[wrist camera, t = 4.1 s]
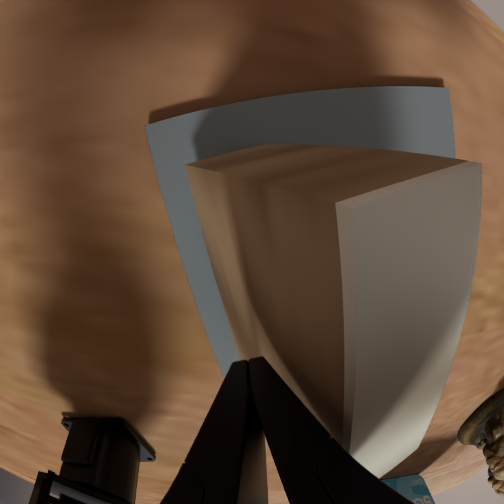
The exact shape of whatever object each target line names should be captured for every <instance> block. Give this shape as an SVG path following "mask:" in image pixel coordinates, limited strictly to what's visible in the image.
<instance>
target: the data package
mask: <svg viewBox="0 0 504 504" xmlns="http://www.w3.org/2000/svg"><path fill="white" fill-rule="evenodd" d="M382 481H383V482H384V483H386V484H387V485H389V486H390V487H391V488H393V489H394V490H396V491H397V492H398V493H400V494H401V495H403V496H404V497H406V498H407V499H409V500H410V501H412V502H413V503H415V504H435V502H434V500H433V498H432V496H431V494H430V492H429V489H428V487H427V485H426V483H425V481H424V479H423V478H422V477H421V476H420V475H418V474H414V475H409V476H403V477H397V478H391V479H384V480H382Z"/></svg>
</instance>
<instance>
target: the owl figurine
mask: <svg viewBox="0 0 504 504" xmlns="http://www.w3.org/2000/svg"><path fill="white" fill-rule="evenodd" d="M494 397H495V398H494V399H492V398H490V399H488V400H487V401H486V402H484V403H483V404H482V405H481V406H480V407H479V408H478V409H477V410H476V411H475V412H474V413H473V414H472V415H471V416H470V417H469V418H468V419H467V420H466V421H465V423H464V424H463V425H462V426H461V427H460V429H459V431H458V439H459V441H460V442H461V443H462V444H464V445H469V444H470V445H474V446H476V447H477V448H478V449H483V454H484V456H485V458H487V459H486V461H487V464H488V465H489V469H488V475H489V478H488V482H489V483H490V484H492V488H494V489H495V491H496V493H497V494H498V495H500V496H504V389H502V390H501V391H499V392H498V393H496V394H495V395H494Z"/></svg>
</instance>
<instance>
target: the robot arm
mask: <svg viewBox="0 0 504 504" xmlns="http://www.w3.org/2000/svg"><path fill="white" fill-rule="evenodd" d="M61 423H62V425H63V426H64V427H65V428H66V429H67V430H68V431H69V434H68V437H67V440H66V444H65V447H64V450H63V453H62V457H61V460H62V461H63V463H62V466H61V470H60V473H59V475H57V474H55V472H53V471H51V470H48V473H44V472H40V471H39V472H38V475H37V479H36V482H35V485H34V489H33V492H32V495H31V498H30V501H29V504H135V499H136V489H137V481H138V473H139V465H140V462H152V461H155V459H156V456H155V455H154V454H153V452H152V451H151V450H150V449H149V448H148V447H147V446H146V445H145V443H144V442H143V441H142V440H141V439H140V438H139V437H138V435H137V434H136V433H135V432H134V431H133V429H132V428H131V427H130V426H129V425H128V423H127V422H126V421H125V420H123V419H120V418H63V419H62V422H61ZM265 437H266V440H267V442H268V445H269V448H270V451H271V454H272V457H273V459H274V462H275V465H276V468H277V471H278V473H279V476H280V479H281V482H282V484H283V487H284V490H285V492H286V495H287V498H288V500H289V503H290V504H415V503H413V502H412V501H410V500H409V499H407V498H406V497H404V496H403V495H401V494H400V493H398V492H397V491H396V490H394V489H393V488H391V487H390V486H389V485H387V484H386V483H384V482H383V481H382V480H380V479H379V478H378V477H376V476H375V475H374V474H372V473H371V472H370V471H368V470H367V469H366V468H365V467H364V466H362V465H361V464H360V463H359V462H358V461H356V460H355V459H354V458H353V457H352V456H351V455H350V454H349V453H348V452H347V451H346V450H345V449H344V448H343V447H342V446H341V445H340V444H339V442H338V441H337V440H336V439H335V438H334V437H332V435H331V434H330V433H329V432H328V431H327V430H326V428H325V427H324V426H323V425H322V424H321V423H320V422H319V421H318V419H317V418H316V417H315V416H314V415H313V414H312V413H311V412H310V410H309V409H308V408H307V407H306V406H305V405H304V404H303V402H302V401H301V400H300V399H299V398H298V397H297V395H296V394H295V393H294V392H293V391H292V390H291V388H290V387H289V386H288V385H287V384H286V383H285V381H284V380H283V379H282V378H281V377H280V375H279V374H278V373H277V372H276V371H275V369H274V368H273V367H272V366H271V365H270V363H269V362H268V361H267V360H266V359H265V357H263V356H258V357H254V358H250V359H249V360H246V359H244V360H239V361H234V362H233V363H232V364H231V366H230V368H229V370H228V372H227V374H226V377H225V379H224V381H223V383H222V385H221V387H220V389H219V391H218V393H217V395H216V397H215V400H214V402H213V404H212V406H211V408H210V410H209V412H208V414H207V416H206V418H205V420H204V422H203V424H202V426H201V428H200V430H199V432H198V434H197V436H196V438H195V440H194V443H193V445H192V447H191V449H190V451H189V453H188V455H187V457H186V459H185V463H183V464H182V466H181V468H180V470H179V472H178V474H177V476H176V478H175V480H174V481H173V483H172V485H171V487H170V488H169V490H168V492H167V493H166V495H165V496H164V498H163V499H162V501H161V502H160V504H268V487H267V468H266V450H265ZM50 492H51V493H53V494H55V495H58V496H59V498H58V499H57V498H54V497H52V496H50V495H49V494H50Z"/></svg>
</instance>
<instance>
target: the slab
mask: <svg viewBox="0 0 504 504" xmlns="http://www.w3.org/2000/svg"><path fill="white" fill-rule="evenodd" d="M185 168H186V172H187V176H188V180H189V184H190V188H191V192H192V196H193V200H194V204H195V207H196V211H197V215H198V219H199V223H200V226H201V230H202V234H203V237H204V241H205V245H206V248H207V252H208V255H209V259H210V263H211V266H212V270H213V273H214V277H215V280H216V283H217V287H218V290H219V294H220V297H221V301H222V304H223V307H224V311H225V314H226V317H227V320H228V324H229V327H230V330H231V333H232V337H233V340H234V343H235V346H236V349H237V353H238V356H239V359H240V360H244V359H246V360H249V359H250V358H254V357H258V356H263V357H265V359H266V360H267V361H268V362H269V363H270V365H271V366H272V367H273V368H274V369H275V371H276V372H277V373H278V374H279V375H280V377H281V378H282V379H283V380H284V381H285V383H286V384H287V385H288V386H289V387H290V388H291V390H292V391H293V392H294V393H295V394H296V395H297V397H298V398H299V399H300V400H301V401H302V402H303V404H304V405H305V406H306V407H307V408H308V409H309V410H310V412H311V413H312V414H313V415H314V416H315V417H316V418H317V419H318V421H319V422H320V423H321V424H322V425H323V426H324V427H325V428H326V430H327V431H328V432H329V433H330V434H331V435H332V437H334V438H335V439H336V440H337V441H338V442H339V444H340V445H341V446H342V447H343V448H344V449H345V450H346V451H347V452H348V453H349V454H350V455H351V456H352V457H353V458H354V459H355V460H356V461H358V462H359V463H360V464H361V465H362V466H364V467H365V468H366V469H367V470H368V471H370V472H371V473H372V474H374V475H375V476H376V477H378V478H380V477H382V476H383V475H385V474H386V473H387V472H389V471H390V470H391V469H393V468H394V467H395V466H397V465H398V464H399V463H400V462H402V461H403V460H404V459H405V458H407V457H408V456H409V455H410V454H412V453H413V452H414V451H415V450H416V449H418V447H419V445H420V443H421V441H422V439H423V437H424V435H425V432H426V430H427V428H428V426H429V424H430V421H431V419H432V417H433V414H434V412H435V409H436V407H437V404H438V402H439V399H440V397H441V394H442V392H443V389H444V386H445V383H446V380H447V378H448V375H449V372H450V369H451V366H452V363H453V359H454V356H455V353H456V349H457V346H458V342H459V339H460V335H461V331H462V328H463V324H464V319H465V315H466V311H467V306H468V302H469V297H470V292H471V287H472V281H473V275H474V269H475V262H476V255H477V247H478V238H479V228H480V215H481V196H482V163H477V162H471V161H466V160H460V159H454V158H448V157H442V156H435V155H428V154H421V153H413V152H404V151H395V150H385V149H374V148H362V147H348V146H330V145H302V144H264V145H260V146H255V147H251V148H246V149H242V150H238V151H234V152H230V153H226V154H222V155H218V156H214V157H210V158H207V159H203V160H199V161H196V162H192V163H188V164H185Z"/></svg>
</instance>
